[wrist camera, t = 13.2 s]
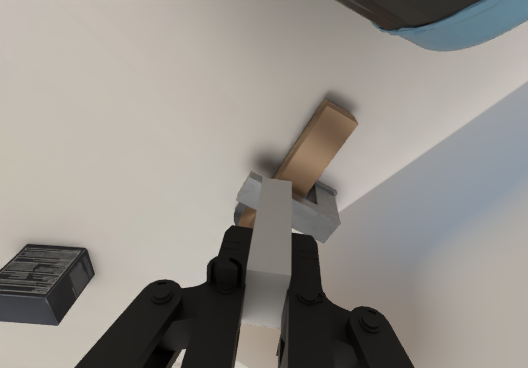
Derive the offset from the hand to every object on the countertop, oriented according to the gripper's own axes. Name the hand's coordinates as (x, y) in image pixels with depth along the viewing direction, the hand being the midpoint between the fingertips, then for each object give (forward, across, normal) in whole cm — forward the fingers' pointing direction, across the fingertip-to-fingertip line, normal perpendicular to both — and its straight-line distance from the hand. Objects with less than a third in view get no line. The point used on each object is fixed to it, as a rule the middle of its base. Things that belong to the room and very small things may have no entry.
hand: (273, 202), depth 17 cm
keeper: (+24, +2, -12) cm, 27 cm away
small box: (+25, -34, -33) cm, 53 cm away
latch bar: (+23, +2, -11) cm, 25 cm away
